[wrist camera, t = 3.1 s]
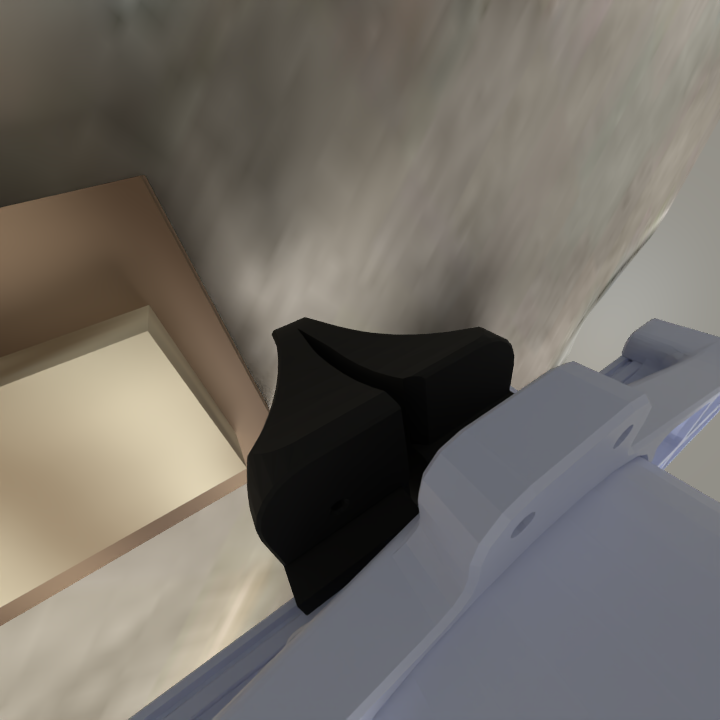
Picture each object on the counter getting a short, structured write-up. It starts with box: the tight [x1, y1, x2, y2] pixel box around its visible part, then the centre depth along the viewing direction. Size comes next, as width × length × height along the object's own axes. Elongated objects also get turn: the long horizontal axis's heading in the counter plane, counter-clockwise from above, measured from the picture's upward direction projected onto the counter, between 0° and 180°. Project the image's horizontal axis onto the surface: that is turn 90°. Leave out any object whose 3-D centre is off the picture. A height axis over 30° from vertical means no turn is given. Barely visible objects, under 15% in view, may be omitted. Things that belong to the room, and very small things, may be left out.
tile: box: [0, 305, 247, 607], centre depth 9 cm, size 8×6×2 cm
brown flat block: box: [0, 175, 270, 626], centre depth 11 cm, size 12×12×4 cm
